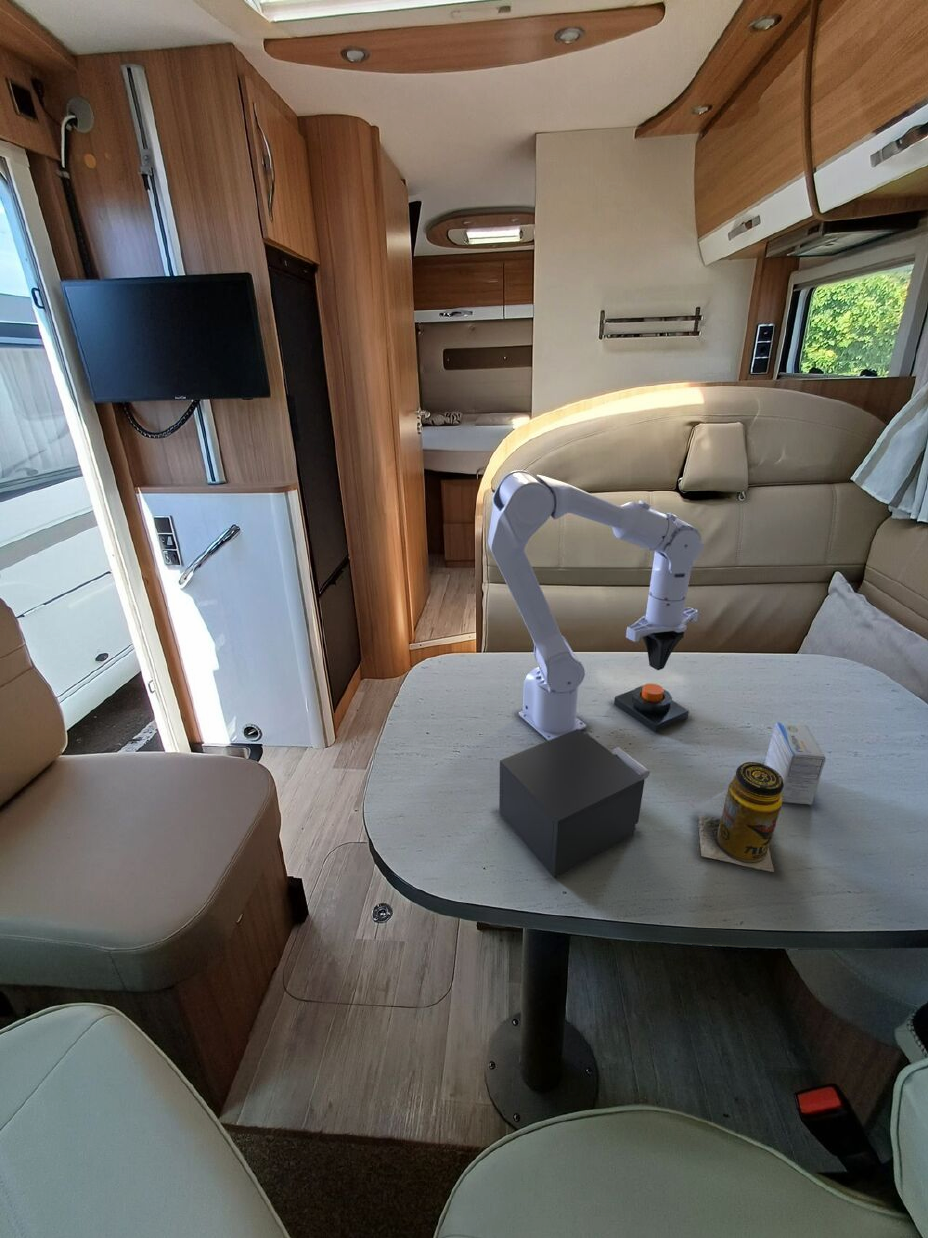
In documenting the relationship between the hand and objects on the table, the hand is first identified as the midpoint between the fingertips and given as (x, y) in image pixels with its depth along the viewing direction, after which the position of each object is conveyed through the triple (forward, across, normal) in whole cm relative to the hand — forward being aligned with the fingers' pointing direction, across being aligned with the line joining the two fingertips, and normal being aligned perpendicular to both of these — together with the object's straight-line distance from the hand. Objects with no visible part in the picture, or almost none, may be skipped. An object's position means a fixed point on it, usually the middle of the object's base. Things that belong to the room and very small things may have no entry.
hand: (656, 667), depth 95 cm
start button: (+7, +1, +1) cm, 7 cm away
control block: (+10, +1, +1) cm, 10 cm away
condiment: (+10, -12, -26) cm, 31 cm away
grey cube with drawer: (+10, -29, -12) cm, 33 cm away
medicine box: (+10, +4, -23) cm, 26 cm away
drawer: (+9, -25, -12) cm, 29 cm away
